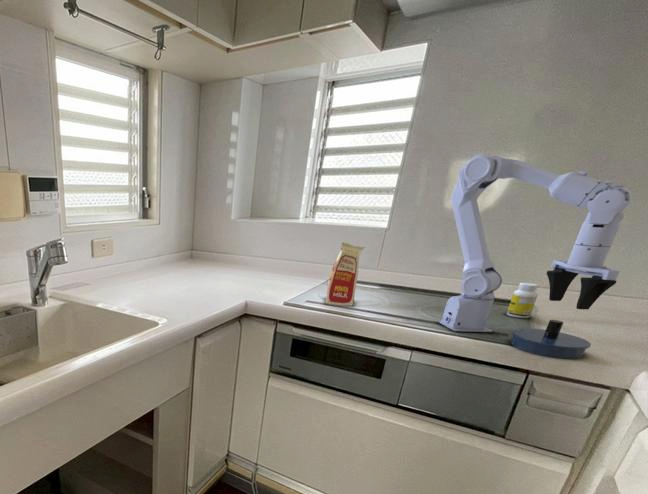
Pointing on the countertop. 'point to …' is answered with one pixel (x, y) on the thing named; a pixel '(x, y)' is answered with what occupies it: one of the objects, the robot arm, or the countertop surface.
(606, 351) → the countertop surface
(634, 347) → the countertop surface
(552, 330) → the pot lid
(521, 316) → the supplement bottle
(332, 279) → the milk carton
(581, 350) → the pot
